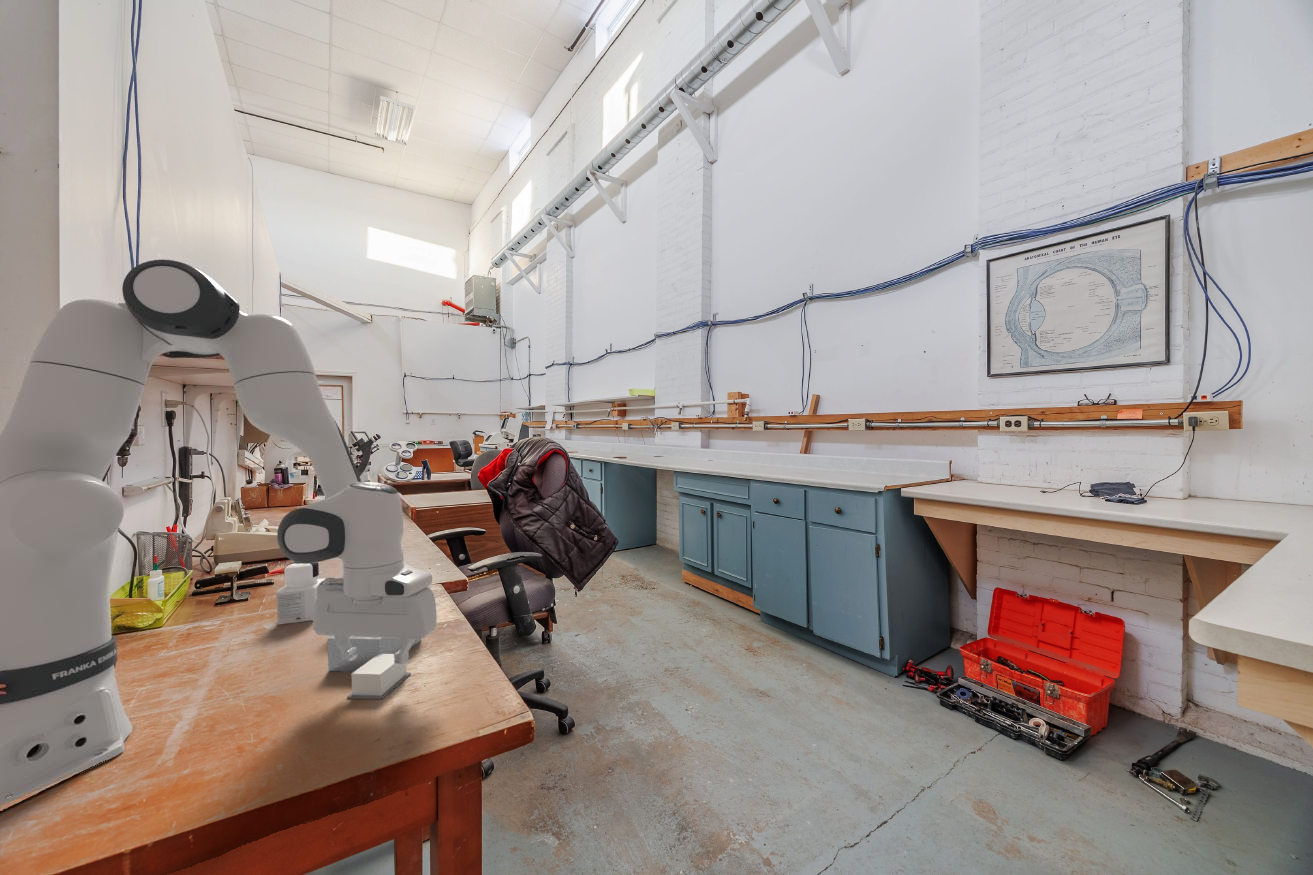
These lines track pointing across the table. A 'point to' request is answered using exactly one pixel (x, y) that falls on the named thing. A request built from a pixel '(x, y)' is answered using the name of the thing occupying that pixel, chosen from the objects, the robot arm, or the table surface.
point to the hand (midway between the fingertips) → (375, 660)
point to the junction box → (362, 651)
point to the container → (298, 593)
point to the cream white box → (377, 675)
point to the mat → (378, 695)
